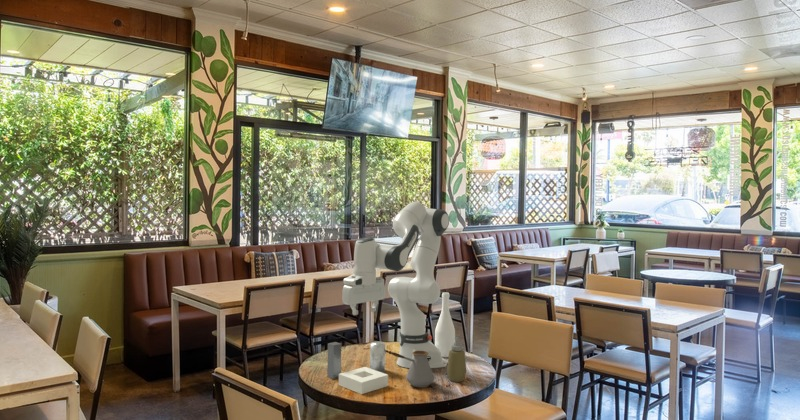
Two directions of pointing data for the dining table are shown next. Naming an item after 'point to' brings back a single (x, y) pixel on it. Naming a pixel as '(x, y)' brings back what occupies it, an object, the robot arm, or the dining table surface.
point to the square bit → (334, 360)
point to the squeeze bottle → (456, 362)
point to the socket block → (363, 380)
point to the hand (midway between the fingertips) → (364, 313)
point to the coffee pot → (418, 369)
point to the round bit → (377, 356)
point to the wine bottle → (445, 328)
